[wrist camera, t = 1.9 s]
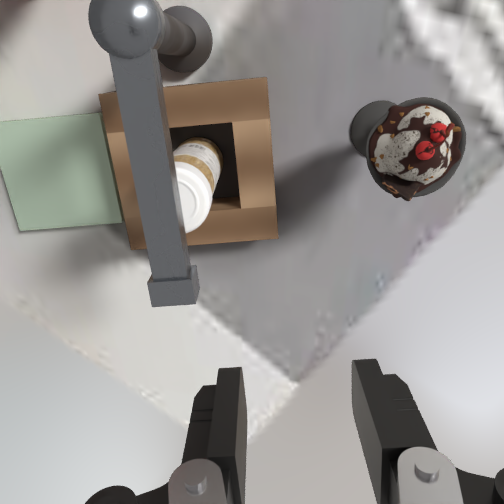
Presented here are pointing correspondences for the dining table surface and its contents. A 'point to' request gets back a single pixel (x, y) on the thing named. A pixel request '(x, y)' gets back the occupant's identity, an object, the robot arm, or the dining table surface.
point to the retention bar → (148, 140)
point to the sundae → (410, 144)
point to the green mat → (59, 172)
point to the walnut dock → (201, 113)
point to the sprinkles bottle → (197, 178)
